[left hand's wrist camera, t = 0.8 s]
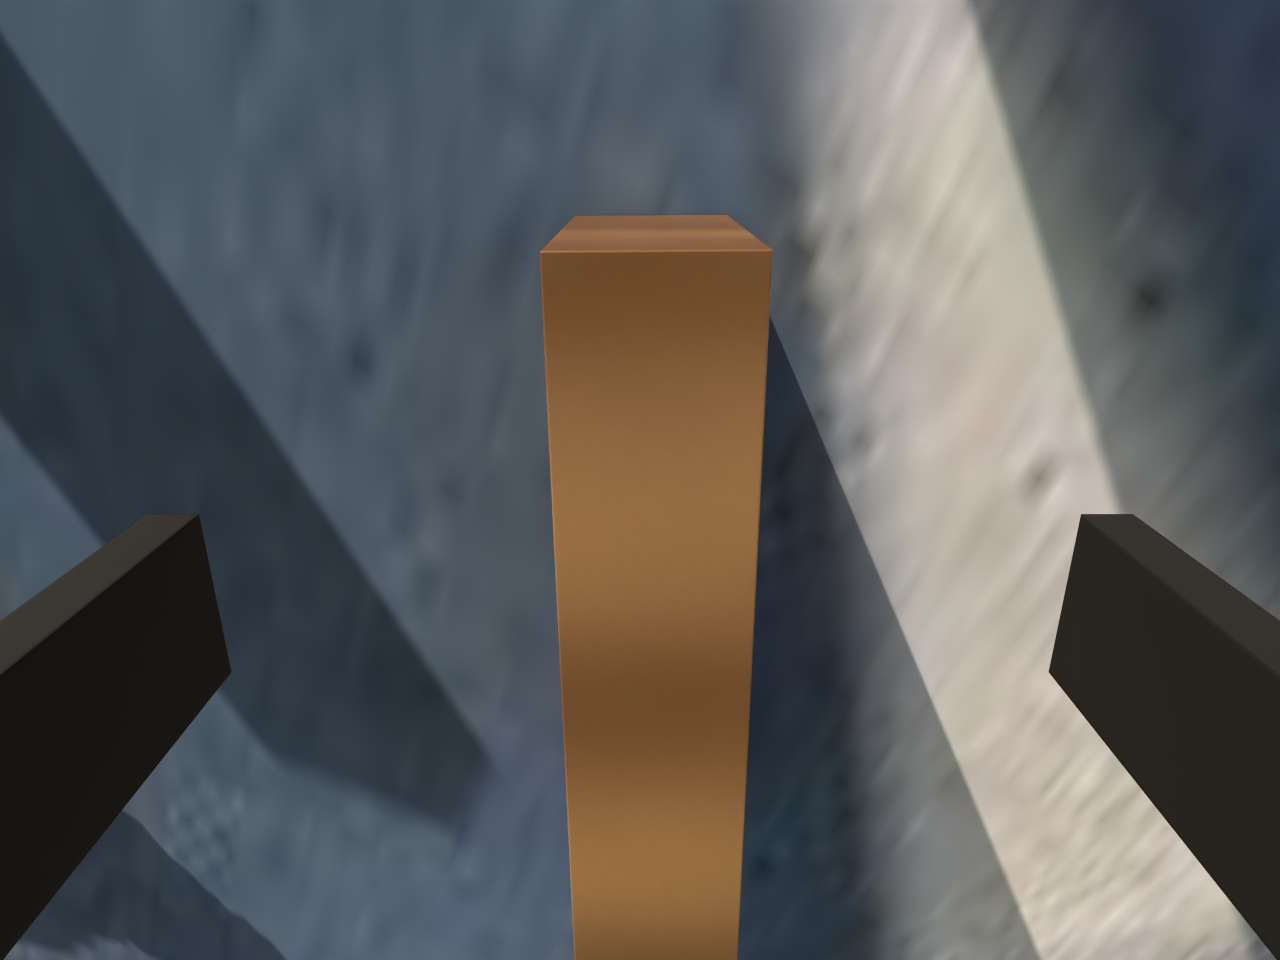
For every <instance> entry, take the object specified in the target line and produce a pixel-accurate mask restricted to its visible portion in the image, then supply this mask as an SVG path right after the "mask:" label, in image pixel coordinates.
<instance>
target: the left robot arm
mask: <svg viewBox="0 0 1280 960" xmlns="http://www.w3.org/2000/svg"><path fill="white" fill-rule="evenodd" d="M230 673H231V668H230V664H229V659H228V654H227V649H226V644H225V639H224V634H223V630H222V625H221V620H220V615H219V610H218V605H217V600H216V596H215V591H214V586H213V581H212V576H211V571H210V566H209V561H208V557H207V552H206V547H205V542H204V537H203V532H202V527H201V523H200V518H199V514H147V515H146V516H144V517H143V518H141V519H140V520H139V521H137V522H136V523H135V524H133V525H132V526H130V527H129V528H128V529H126V530H125V531H124V532H122V533H121V534H119V535H118V536H117V537H115V538H114V539H113V540H111V541H110V542H108V543H107V544H106V545H104V546H103V547H102V548H100V549H99V550H97V551H96V552H95V553H93V554H92V555H90V556H89V557H88V558H86V559H85V560H84V561H82V562H81V563H79V564H78V565H77V566H75V567H74V568H73V569H71V570H70V571H68V572H67V573H66V574H64V575H63V576H62V577H60V578H59V579H57V580H56V581H55V582H53V583H52V584H51V585H49V586H48V587H46V588H45V589H44V590H42V591H41V592H40V593H38V594H37V595H35V596H34V597H33V598H31V599H30V600H28V601H27V602H26V603H24V604H23V605H22V606H20V607H19V608H17V609H16V610H15V611H13V612H12V613H11V614H9V615H8V616H6V617H5V618H4V619H2V620H1V621H0V960H3V959H4V958H5V957H6V955H7V954H8V953H9V952H10V950H11V949H12V948H13V947H14V945H15V944H16V943H17V942H18V940H19V939H20V938H21V936H22V935H23V934H24V933H25V931H26V930H27V929H28V928H29V926H30V925H31V924H32V923H33V921H34V920H35V919H36V918H37V916H38V915H39V914H40V913H41V911H42V910H43V909H44V907H45V906H46V905H47V904H48V902H49V901H50V900H51V899H52V897H53V896H54V895H55V894H56V892H57V891H58V890H59V889H60V887H61V886H62V885H63V884H64V882H65V881H66V880H67V878H68V877H69V876H70V875H71V873H72V872H73V871H74V870H75V868H76V867H77V866H78V865H79V863H80V862H81V861H82V860H83V858H84V857H85V856H86V855H87V853H88V852H89V851H90V849H91V848H92V847H93V846H94V844H95V843H96V842H97V841H98V839H99V838H100V837H101V836H102V834H103V833H104V832H105V831H106V829H107V828H108V827H109V826H110V824H111V823H112V822H113V820H114V819H115V818H116V817H117V815H118V814H119V813H120V812H121V810H122V809H123V808H124V807H125V805H126V804H127V803H128V802H129V800H130V799H131V798H132V797H133V795H134V794H135V793H136V791H137V790H138V789H139V788H140V786H141V785H142V784H143V783H144V781H145V780H146V779H147V778H148V776H149V775H150V774H151V773H152V771H153V770H154V769H155V768H156V766H157V765H158V764H159V762H160V761H161V760H162V759H163V757H164V756H165V755H166V754H167V752H168V751H169V750H170V749H171V747H172V746H173V745H174V744H175V742H176V741H177V740H178V739H179V737H180V736H181V735H182V733H183V732H184V731H185V730H186V728H187V727H188V726H189V725H190V723H191V722H192V721H193V720H194V718H195V717H196V716H197V715H198V713H199V712H200V711H201V710H202V708H203V707H204V706H205V704H206V703H207V702H208V701H209V699H210V698H211V697H212V696H213V694H214V693H215V692H216V691H217V689H218V688H219V687H220V686H221V684H222V683H223V682H224V681H225V679H226V678H227V677H228V675H229V674H230ZM1049 673H1050V674H1051V675H1052V677H1053V678H1054V679H1055V681H1056V682H1057V683H1058V684H1059V686H1060V687H1061V688H1062V689H1063V691H1064V692H1065V693H1066V694H1067V696H1068V697H1069V698H1070V699H1071V701H1072V702H1073V703H1074V704H1075V706H1076V707H1077V708H1078V710H1079V711H1080V712H1081V713H1082V715H1083V716H1084V717H1085V718H1086V720H1087V721H1088V722H1089V723H1090V725H1091V726H1092V727H1093V728H1094V730H1095V731H1096V732H1097V733H1098V735H1099V736H1100V737H1101V739H1102V740H1103V741H1104V742H1105V744H1106V745H1107V746H1108V747H1109V749H1110V750H1111V751H1112V752H1113V754H1114V755H1115V756H1116V757H1117V759H1118V760H1119V761H1120V762H1121V764H1122V765H1123V766H1124V768H1125V769H1126V770H1127V771H1128V773H1129V774H1130V775H1131V776H1132V778H1133V779H1134V780H1135V781H1136V783H1137V784H1138V785H1139V786H1140V788H1141V789H1142V790H1143V791H1144V793H1145V794H1146V795H1147V797H1148V798H1149V799H1150V800H1151V802H1152V803H1153V804H1154V805H1155V807H1156V808H1157V809H1158V810H1159V812H1160V813H1161V814H1162V815H1163V817H1164V818H1165V819H1166V820H1167V822H1168V823H1169V824H1170V826H1171V827H1172V828H1173V829H1174V831H1175V832H1176V833H1177V834H1178V836H1179V837H1180V838H1181V839H1182V841H1183V842H1184V843H1185V844H1186V846H1187V847H1188V848H1189V849H1190V851H1191V852H1192V853H1193V855H1194V856H1195V857H1196V858H1197V860H1198V861H1199V862H1200V863H1201V865H1202V866H1203V867H1204V868H1205V870H1206V871H1207V872H1208V873H1209V875H1210V876H1211V877H1212V878H1213V880H1214V881H1215V882H1216V884H1217V885H1218V886H1219V887H1220V889H1221V890H1222V891H1223V892H1224V894H1225V895H1226V896H1227V897H1228V899H1229V900H1230V901H1231V902H1232V904H1233V905H1234V906H1235V907H1236V909H1237V910H1238V911H1239V913H1240V914H1241V915H1242V916H1243V918H1244V919H1245V920H1246V921H1247V923H1248V924H1249V925H1250V926H1251V928H1252V929H1253V930H1254V931H1255V933H1256V934H1257V935H1258V936H1259V938H1260V939H1261V940H1262V942H1263V943H1264V944H1265V945H1266V947H1267V948H1268V949H1269V950H1270V952H1271V953H1272V954H1273V955H1274V957H1275V958H1276V959H1277V960H1280V621H1279V620H1278V619H1276V618H1275V617H1274V616H1272V615H1271V614H1269V613H1268V612H1267V611H1265V610H1264V609H1263V608H1261V607H1260V606H1258V605H1257V604H1256V603H1254V602H1253V601H1252V600H1250V599H1249V598H1247V597H1246V596H1245V595H1243V594H1242V593H1240V592H1239V591H1238V590H1236V589H1235V588H1234V587H1232V586H1231V585H1229V584H1228V583H1227V582H1225V581H1224V580H1223V579H1221V578H1220V577H1218V576H1217V575H1216V574H1214V573H1213V572H1212V571H1210V570H1209V569H1207V568H1206V567H1205V566H1203V565H1202V564H1201V563H1199V562H1198V561H1196V560H1195V559H1194V558H1192V557H1191V556H1190V555H1188V554H1187V553H1185V552H1184V551H1183V550H1181V549H1180V548H1178V547H1177V546H1176V545H1174V544H1173V543H1172V542H1170V541H1169V540H1167V539H1166V538H1165V537H1163V536H1162V535H1161V534H1159V533H1158V532H1156V531H1155V530H1154V529H1152V528H1151V527H1150V526H1148V525H1147V524H1145V523H1144V522H1143V521H1141V520H1140V519H1139V518H1137V517H1136V516H1134V515H1133V514H1081V518H1080V523H1079V527H1078V532H1077V537H1076V542H1075V547H1074V552H1073V557H1072V561H1071V566H1070V571H1069V576H1068V581H1067V586H1066V591H1065V596H1064V600H1063V605H1062V610H1061V615H1060V620H1059V625H1058V630H1057V634H1056V639H1055V644H1054V649H1053V654H1052V659H1051V664H1050V668H1049Z"/></svg>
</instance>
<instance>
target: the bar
mask: <svg viewBox="0 0 1280 960" xmlns="http://www.w3.org/2000/svg"><path fill="white" fill-rule="evenodd" d="M772 254H773V251H772V249H770V248H769V247H768V246H767V245H765V244H764V243H763V242H761V241H760V240H759V239H757V238H756V237H755V236H754V235H752V234H751V233H750V232H748V231H747V230H746V229H745V228H743V227H742V226H741V225H739V224H738V223H737V222H736V221H734V220H733V219H732V218H730V217H729V216H728V215H658V216H574V217H573V218H572V219H571V220H570V221H569V222H568V223H567V225H566V226H565V227H564V228H563V229H562V230H561V231H560V232H559V233H558V234H557V235H556V236H555V237H554V238H553V239H552V240H551V241H550V242H549V243H548V244H547V245H546V246H545V247H544V248H543V249H542V250H541V251H540V271H541V291H542V311H543V332H544V352H545V372H546V392H547V413H548V433H549V453H550V473H551V494H552V514H553V534H554V554H555V575H556V595H557V615H558V635H559V656H560V676H561V696H562V716H563V737H564V757H565V777H566V797H567V818H568V838H569V858H570V878H571V899H572V919H573V939H574V959H575V960H737V959H738V938H739V918H740V898H741V878H742V858H743V838H744V818H745V797H746V777H747V757H748V737H749V717H750V697H751V677H752V657H753V636H754V616H755V596H756V576H757V556H758V536H759V516H760V495H761V475H762V455H763V435H764V415H765V395H766V375H767V355H768V334H769V314H770V294H771V274H772Z"/></svg>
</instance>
